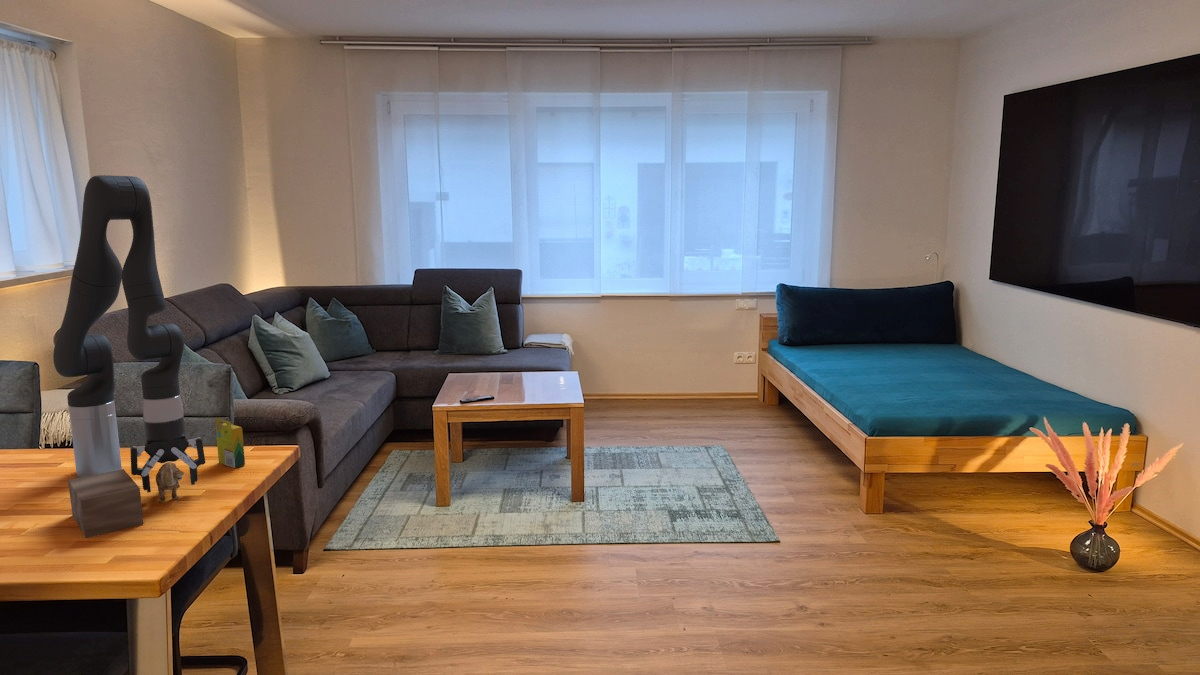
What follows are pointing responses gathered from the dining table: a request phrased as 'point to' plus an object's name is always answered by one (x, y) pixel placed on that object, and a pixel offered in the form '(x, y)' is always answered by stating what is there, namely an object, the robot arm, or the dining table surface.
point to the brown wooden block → (105, 503)
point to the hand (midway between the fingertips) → (171, 487)
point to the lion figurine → (168, 480)
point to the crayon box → (229, 444)
